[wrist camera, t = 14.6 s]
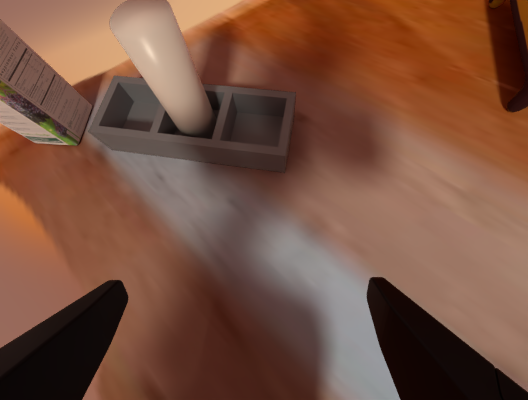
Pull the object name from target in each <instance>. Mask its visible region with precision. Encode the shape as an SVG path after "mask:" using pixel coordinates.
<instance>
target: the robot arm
mask: <svg viewBox="0 0 528 400" xmlns="http://www.w3.org/2000/svg"><path fill="white" fill-rule="evenodd" d="M367 302H368V305H369V309H370V313H371V316H372V320H373V324H374V327H375V331H376V334H377V338H378V341H379V345H380V348H381V351H382V353H383V356H384V358H385V361H386V364H387V366H388V369H389V371H390V374H391V376H392V379H393V382H394V384H395V387H396V389H397V392H398V394H399V397H400V399H401V400H528V392H527V391H526V390H524V389H523V388H522V387H521V386H519V385H518V384H517V383H515V382H514V381H513V380H512V379H510V378H509V377H508V376H507V375H505V374H504V373H503V372H502V371H500V370H499V369H498V368H495V367H494V365H493V364H491V363H490V362H489V361H488V360H486V359H485V358H484V357H483V356H481V355H480V354H479V353H478V352H476V351H475V350H474V349H473V348H471V347H470V346H469V345H468V344H466V343H465V342H464V341H462V340H461V339H460V338H459V337H457V336H456V335H455V334H454V333H452V332H451V331H450V330H449V329H447V328H446V327H445V326H444V325H442V324H441V323H440V322H439V321H437V320H436V319H435V318H434V317H432V316H431V315H430V314H429V313H427V312H426V311H425V310H424V309H422V308H421V307H420V306H419V305H417V304H416V303H415V302H414V301H412V300H411V299H410V298H408V297H407V296H406V295H405V294H403V293H402V292H401V291H400V290H398V289H397V288H396V287H395V286H393V285H392V284H391V283H390V282H388V281H387V280H386V279H385V278H383V277H371V278H370V280H369V284H368V290H367ZM127 303H128V294H127V292H126V289H125V287H124V285H123V282H122V281H121V280H109V281H107V282H105V283H104V284H102V285H100V286H99V287H97V288H96V289H94V290H92V291H91V292H89V293H88V294H86V295H84V296H83V297H81V298H80V299H78V300H76V301H75V302H73V303H72V304H70V305H68V306H67V307H65V308H64V309H62V310H61V311H59V312H57V313H56V314H54V315H53V316H51V317H50V318H48V319H46V320H45V321H43V322H42V323H40V324H38V325H37V326H35V327H33V328H32V329H31V330H29V331H27V332H25V333H24V334H22V335H21V336H19V337H18V338H16V339H14V340H13V341H11V342H9V343H8V344H6V345H5V346H3V347H1V348H0V400H82V399H83V397H84V395H85V393H86V391H87V389H88V387H89V385H90V383H91V381H92V379H93V377H94V375H95V374H96V372H97V370H98V368H99V366H100V364H101V362H102V360H103V358H104V356H105V354H106V352H107V350H108V348H109V346H110V344H111V342H112V339H113V337H114V335H115V332H116V330H117V327H118V325H119V322H120V320H121V317H122V315H123V313H124V310H125V308H126V305H127Z"/></svg>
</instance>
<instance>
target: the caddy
mask: <svg viewBox="0 0 528 400" xmlns="http://www.w3.org/2000/svg"><path fill="white" fill-rule="evenodd" d="M202 85H203V87H204V90H205V92H206V95H207V97H208V100H209V102H210V105H211V107H212V110H213V112H214V115H215V117H216V120H217V122H216V126H215V129H214V133H213V136H212V139H205V138H197V137H188V136H183V135H182V134H181V132H180V131H179V129H178V128H177V126H176V125H175V124H174V122H173V121H172V119H171V118H170V116H169V115H168V113H167V112H166V110H165V109H164V107H163V106H162V104H161V103H160V101H159V100H158V99H157V97H156V96H155V94H154V93H153V91H152V90H151V88H150V87H149V85H148V84H147V82H146V81H145V79H144V78H134V77H123V76H114V77H113V79H112V81H111V84H110V86H109V88H108V90H107V92H106V94H105V97H104V99H103V101H102V103H101V105H100V107H99V109H98V112H97V114H96V116H95V118H94V120H93V122H92V125H91V127H90V129H89V131H88V132H89V133H91V134H92V135H93V136H94V137H96V138H97V139H98V140H100V141H101V142H102V143H104V144H105V145H106V146H107V147H109V148H110V149H111V150H117V151H124V152H132V153H139V154H147V155H155V156H162V157H170V158H177V159H185V160H192V161H200V162H208V163H215V164H223V165H230V166H238V167H245V168H253V169H261V170H268V171H276V172H283V173H285V169H286V163H287V157H288V151H289V145H290V138H291V132H292V126H293V120H294V112H295V100H296V92H286V91H275V90H264V89H253V88H243V87H232V86H221V85H210V84H202Z"/></svg>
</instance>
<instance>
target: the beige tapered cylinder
mask: <svg viewBox="0 0 528 400" xmlns="http://www.w3.org/2000/svg"><path fill="white" fill-rule="evenodd" d="M109 24H110V29H111V31H112V32H113V34H114V35H115V37H116V38H117V40H118V41H119V43H120V44H121V46H122V47H123V49H124V50H125V52H126V53H127V54H128V56H129V57H130V59H131V60H132V62H133V63H134V65H135V66H136V68H137V69H138V71H139V72H140V74H141V75H142V77H143V78H144V79H145V81H146V82H147V84H148V85H149V87H150V88H151V90H152V91H153V93H154V94H155V96H156V97H157V99H158V100H159V101H160V103H161V104H162V106H163V107H164V109H165V110H166V112H167V113H168V115H169V116H170V118H171V119H172V121H173V122H174V124H175V125H176V126H177V128H178V129H179V131H180V132H181V134H182V135H183V136H188V137H197V138H205V139H212V136H213V133H214V129H215V126H216V122H217V120H216V117H215V115H214V112H213V110H212V107H211V105H210V102H209V100H208V97H207V95H206V92H205V90H204V87H203V85H202V83H201V80H200V78H199V75H198V73H197V70H196V68H195V65H194V63H193V60H192V58H191V55H190V53H189V50H188V48H187V45H186V43H185V40H184V38H183V35H182V33H181V30H180V28H179V26H178V23H177V21H176V18H175V16H174V13H173V11H172V8H171V6H170V4H169V3H168V2H167V0H127V1H125V2H124V3H122V4H121V5H120V6H118V7H117V9H115V11H114V12H113V14H112V15H111V18H110V23H109Z"/></svg>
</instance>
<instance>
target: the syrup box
mask: <svg viewBox="0 0 528 400" xmlns="http://www.w3.org/2000/svg"><path fill="white" fill-rule="evenodd" d="M91 109H92V105H91V104H90V103H89V102H88V101H87V100H86V99H85V98H84V97H82V96H81V95H80V94H79V93H78V92H77V91H76V90H75V89H74V88H73V87H72V86H71V85H70V84H69V83H67V82H66V81H65V80H64V79H63V78H62V77H61V76H60V75H59V74H58V73H57V72H56V71H55V70H54V69H53V68H52V67H51V66H50V65H48V64H47V63H46V62H45V61H44V60H43V59H42V58H41V57H40V56H39V55H38V54H37V53H36V52H34V51H33V50H32V49H31V48H30V47H29V46H28V45H27V44H26V43H25V42H24V41H23V40H22V39H21V38H19V36H18V35H16V34H15V33H14V32H13V31H12V30H11V29H10V28H9V27H8V26H7V25H6V24H5V23H4V22H3V21H2V20H1V19H0V123H1V124H3V125H5V126H6V127H8V128H10V129H12V130H13V131H15V132H17V133H19V134H20V135H22V136H24V137H26V138H28V139H29V140H31V141H33V142H35V143H45V144H59V145H78V144H79V142H80V139H81V136H82V134H83V131H84V128H85V126H86V123H87V120H88V117H89V115H90V112H91Z"/></svg>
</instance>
